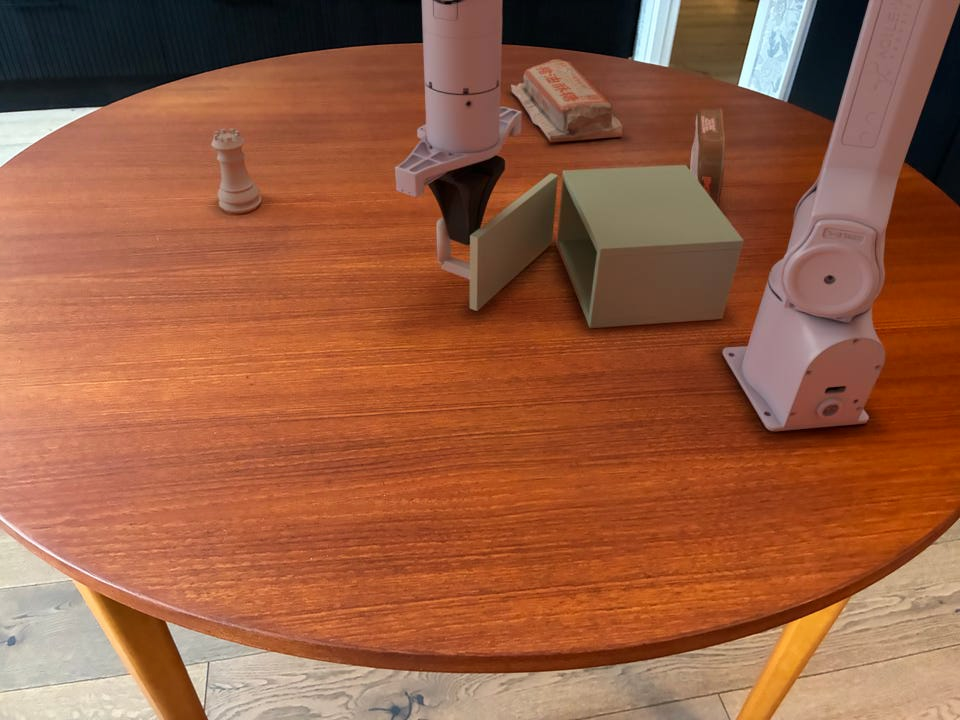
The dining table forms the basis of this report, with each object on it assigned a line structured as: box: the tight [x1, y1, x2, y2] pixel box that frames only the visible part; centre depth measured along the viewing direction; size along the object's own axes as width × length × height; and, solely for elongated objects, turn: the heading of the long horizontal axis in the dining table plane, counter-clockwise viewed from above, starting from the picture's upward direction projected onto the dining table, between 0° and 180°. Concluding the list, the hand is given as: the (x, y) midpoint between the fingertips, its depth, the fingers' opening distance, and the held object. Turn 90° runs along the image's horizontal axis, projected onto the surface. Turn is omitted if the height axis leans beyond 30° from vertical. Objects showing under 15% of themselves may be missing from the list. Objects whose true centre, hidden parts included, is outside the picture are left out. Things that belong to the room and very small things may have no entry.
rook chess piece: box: [210, 127, 262, 215], centre depth 79 cm, size 4×4×8 cm
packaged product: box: [510, 58, 624, 143], centre depth 100 cm, size 18×5×10 cm
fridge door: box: [435, 172, 559, 312], centre depth 70 cm, size 5×14×7 cm, turn 147°
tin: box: [689, 107, 726, 207], centre depth 82 cm, size 15×3×8 cm, turn 168°
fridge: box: [555, 164, 744, 329], centre depth 69 cm, size 12×14×8 cm
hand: (463, 239), depth 66 cm, fingers closed
